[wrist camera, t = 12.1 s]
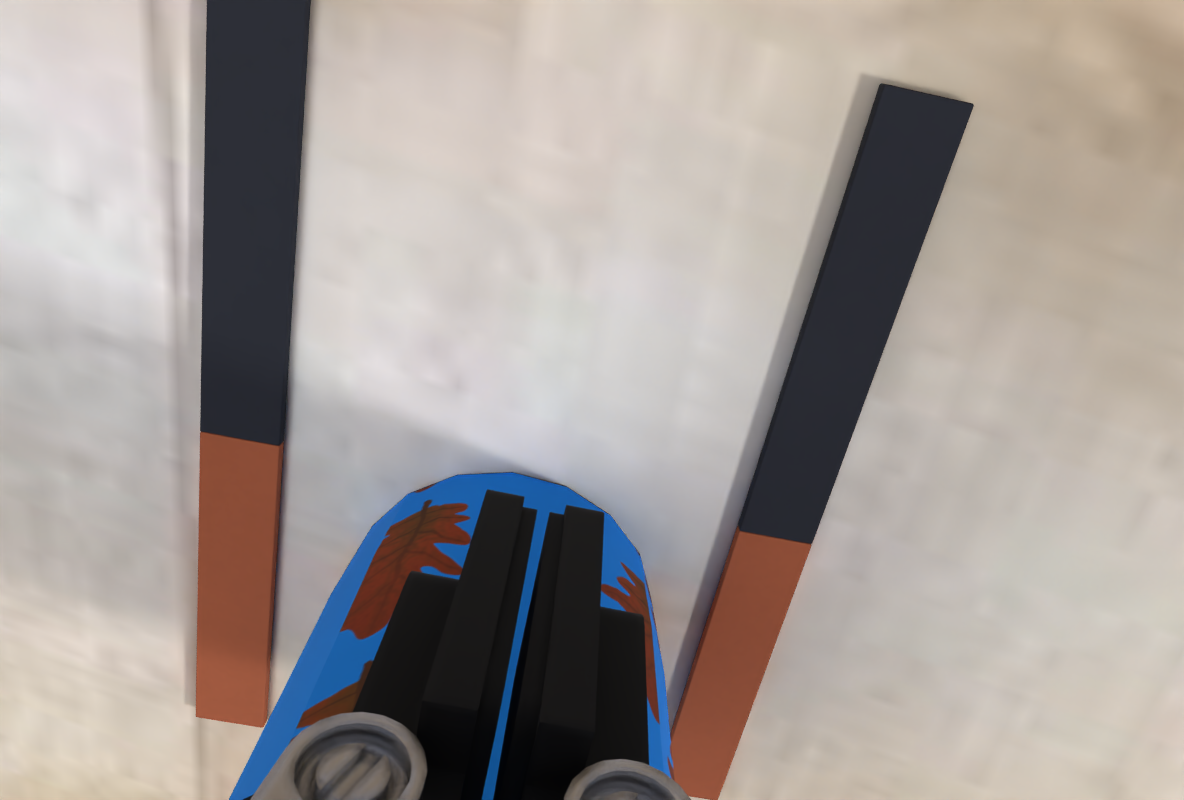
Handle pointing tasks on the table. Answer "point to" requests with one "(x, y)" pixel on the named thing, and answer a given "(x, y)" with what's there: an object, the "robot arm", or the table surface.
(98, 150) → the table surface
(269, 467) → the lane
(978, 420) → the table surface
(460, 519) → the thermos
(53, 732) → the table surface
